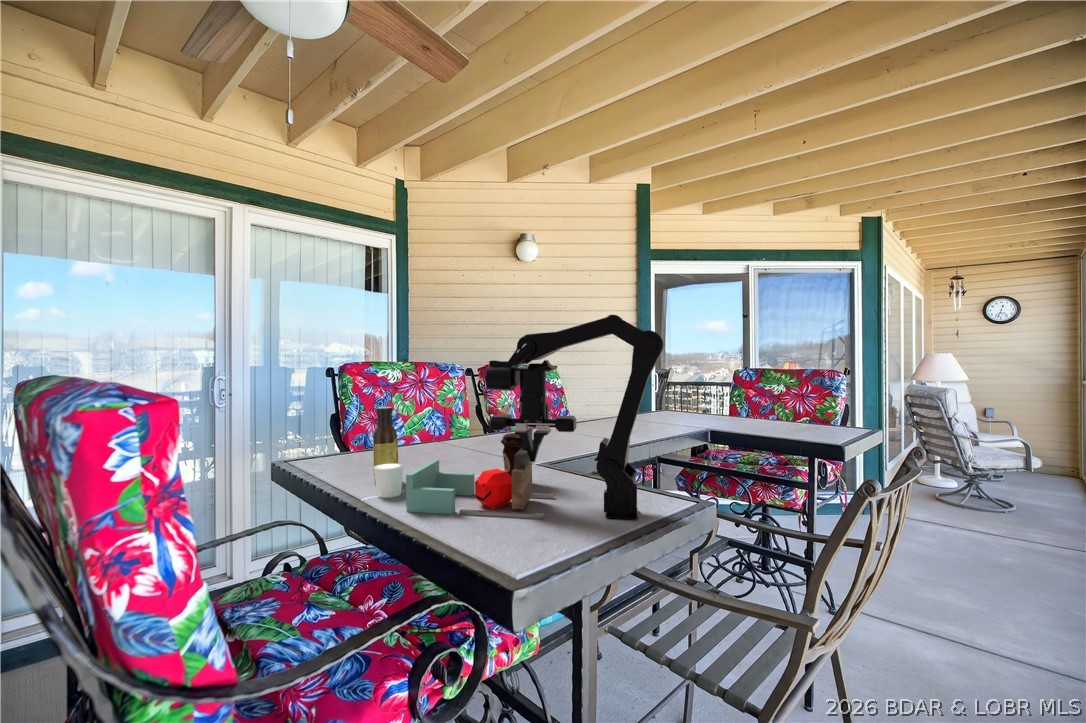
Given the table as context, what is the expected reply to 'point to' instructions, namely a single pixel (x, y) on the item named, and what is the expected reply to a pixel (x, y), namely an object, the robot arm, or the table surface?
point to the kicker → (521, 480)
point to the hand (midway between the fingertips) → (533, 461)
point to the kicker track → (509, 514)
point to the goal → (436, 489)
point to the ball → (494, 488)
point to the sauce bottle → (385, 438)
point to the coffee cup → (511, 450)
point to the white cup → (388, 479)
